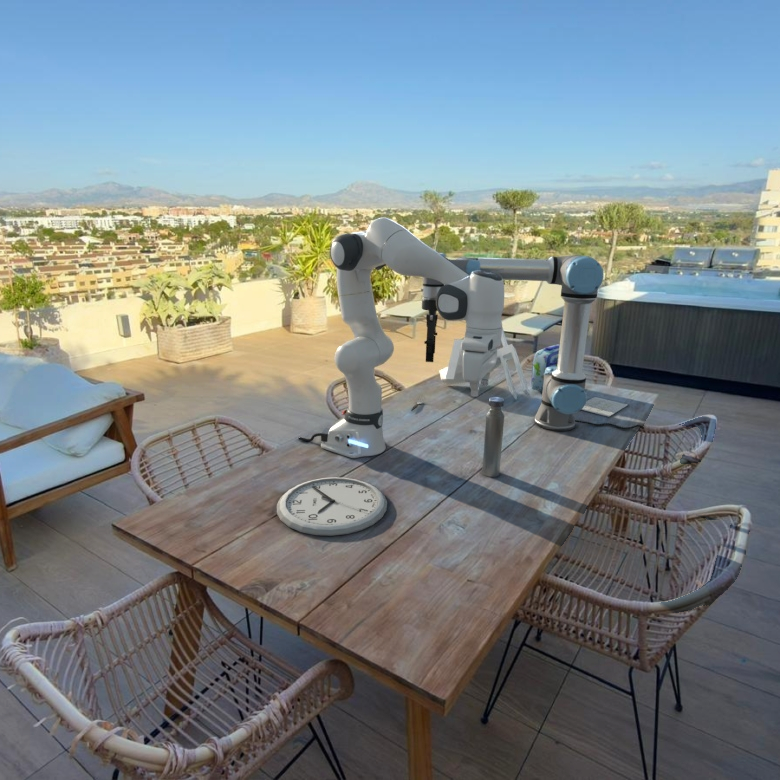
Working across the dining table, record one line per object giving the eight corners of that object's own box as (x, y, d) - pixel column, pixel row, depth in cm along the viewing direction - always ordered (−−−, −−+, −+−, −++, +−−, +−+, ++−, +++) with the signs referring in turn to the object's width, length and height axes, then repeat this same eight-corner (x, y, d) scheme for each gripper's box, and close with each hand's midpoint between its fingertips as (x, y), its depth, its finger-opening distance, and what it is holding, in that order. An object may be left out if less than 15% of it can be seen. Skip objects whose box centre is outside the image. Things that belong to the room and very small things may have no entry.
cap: (487, 406, 156) (487, 400, 155) (491, 401, 159) (491, 396, 159) (501, 408, 154) (502, 402, 153) (505, 404, 157) (505, 398, 157)
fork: (408, 411, 216) (408, 407, 215) (419, 400, 230) (419, 396, 229) (414, 412, 215) (414, 407, 214) (425, 401, 229) (425, 396, 229)
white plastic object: (461, 429, 252) (437, 405, 227) (444, 352, 274) (420, 323, 250) (535, 404, 240) (518, 377, 215) (510, 326, 262) (492, 293, 237)
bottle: (479, 474, 162) (485, 401, 155) (484, 468, 167) (490, 396, 159) (496, 478, 160) (503, 404, 153) (501, 471, 164) (507, 399, 157)
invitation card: (608, 416, 214) (573, 407, 224) (608, 416, 214) (573, 408, 224) (628, 404, 229) (594, 396, 238) (628, 405, 229) (594, 397, 238)
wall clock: (392, 527, 129) (268, 531, 127) (391, 533, 130) (269, 537, 127) (383, 473, 158) (282, 475, 155) (383, 478, 158) (282, 480, 156)
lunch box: (547, 397, 237) (552, 352, 231) (526, 391, 245) (531, 348, 238) (574, 386, 255) (580, 344, 249) (554, 381, 262) (559, 340, 256)
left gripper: (481, 329, 140) (477, 379, 144) (459, 344, 122) (456, 400, 127) (504, 331, 138) (500, 382, 142) (485, 346, 120) (481, 403, 124)
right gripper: (424, 293, 195) (422, 349, 202) (419, 302, 172) (417, 365, 178) (444, 294, 195) (441, 350, 201) (442, 303, 171) (439, 366, 177)
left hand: (479, 390), depth 134 cm, fingers open, 8 cm apart
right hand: (430, 357), depth 190 cm, fingers open, 13 cm apart
